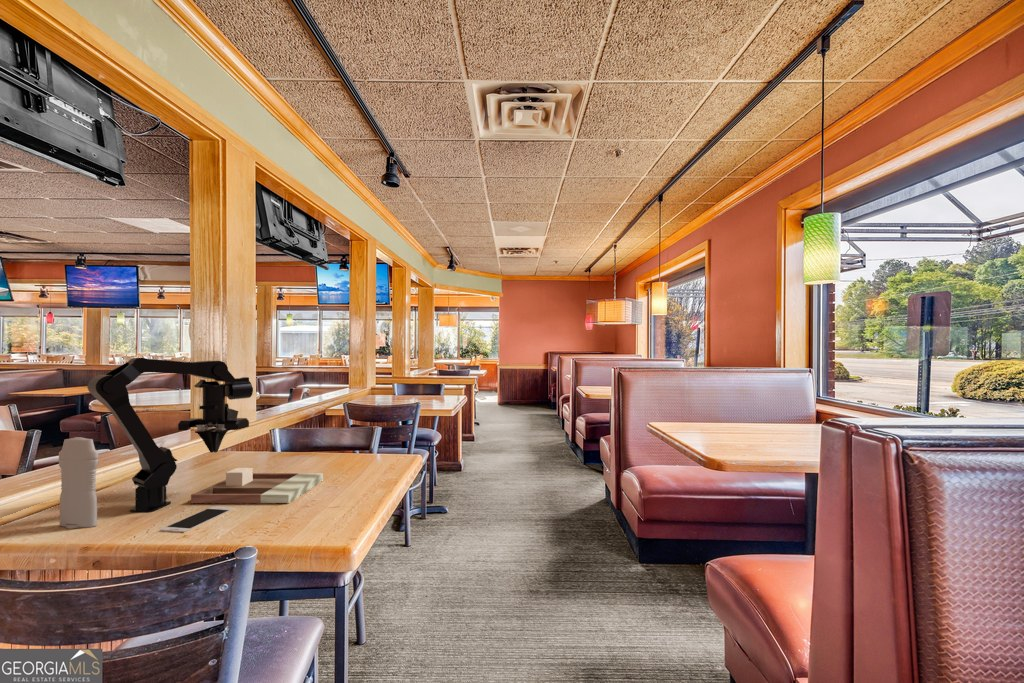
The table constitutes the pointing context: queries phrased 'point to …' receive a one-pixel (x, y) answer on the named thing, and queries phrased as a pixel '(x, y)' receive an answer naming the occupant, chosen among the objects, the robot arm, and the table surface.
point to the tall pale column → (78, 483)
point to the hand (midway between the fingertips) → (214, 452)
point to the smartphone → (197, 519)
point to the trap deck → (260, 489)
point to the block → (239, 476)
